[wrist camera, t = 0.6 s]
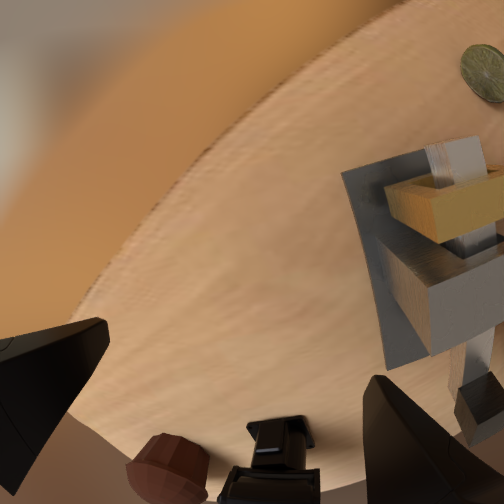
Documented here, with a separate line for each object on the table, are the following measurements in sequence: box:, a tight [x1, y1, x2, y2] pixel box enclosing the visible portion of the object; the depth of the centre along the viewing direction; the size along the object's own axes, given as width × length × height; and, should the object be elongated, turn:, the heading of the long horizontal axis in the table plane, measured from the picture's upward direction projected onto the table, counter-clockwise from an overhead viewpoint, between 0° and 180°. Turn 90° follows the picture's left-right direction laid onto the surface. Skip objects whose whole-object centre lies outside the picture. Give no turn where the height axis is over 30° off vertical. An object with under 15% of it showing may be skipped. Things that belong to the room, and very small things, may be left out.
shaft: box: [424, 135, 504, 448], centre depth 11 cm, size 18×3×6 cm, turn 21°
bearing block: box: [341, 149, 504, 371], centre depth 15 cm, size 18×11×10 cm, turn 21°
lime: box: [461, 44, 504, 103], centre depth 12 cm, size 4×5×5 cm
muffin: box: [126, 433, 210, 504], centre depth 27 cm, size 12×11×10 cm
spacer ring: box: [384, 164, 504, 244], centre depth 12 cm, size 2×7×7 cm, turn 111°
